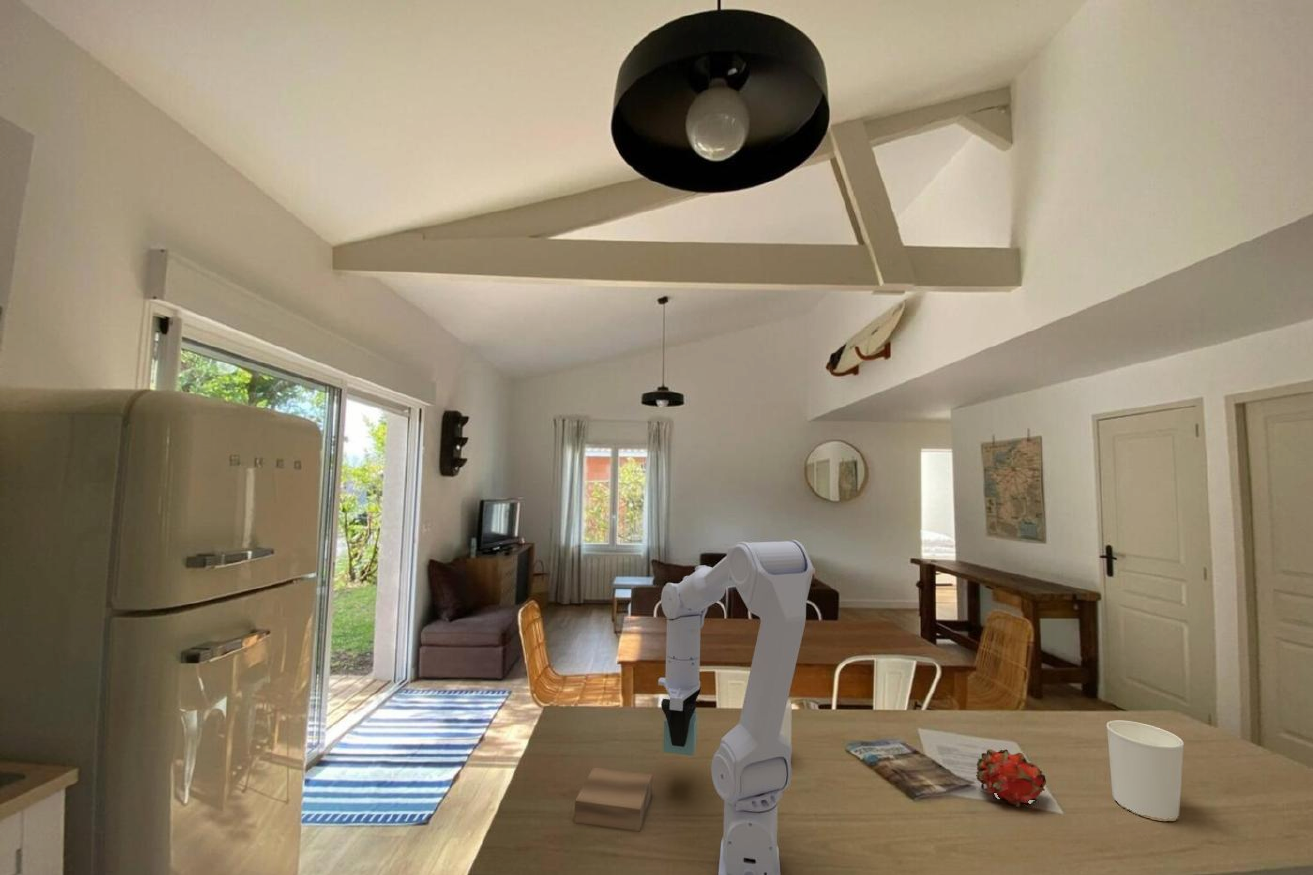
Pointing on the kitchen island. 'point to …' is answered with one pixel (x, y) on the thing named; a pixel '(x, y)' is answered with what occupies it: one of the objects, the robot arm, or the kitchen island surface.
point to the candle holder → (1145, 768)
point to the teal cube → (690, 740)
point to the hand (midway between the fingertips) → (680, 737)
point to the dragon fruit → (1010, 776)
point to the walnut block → (614, 799)
